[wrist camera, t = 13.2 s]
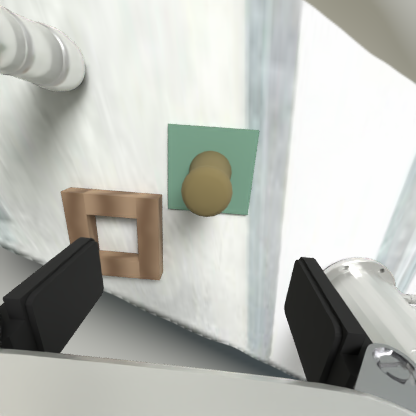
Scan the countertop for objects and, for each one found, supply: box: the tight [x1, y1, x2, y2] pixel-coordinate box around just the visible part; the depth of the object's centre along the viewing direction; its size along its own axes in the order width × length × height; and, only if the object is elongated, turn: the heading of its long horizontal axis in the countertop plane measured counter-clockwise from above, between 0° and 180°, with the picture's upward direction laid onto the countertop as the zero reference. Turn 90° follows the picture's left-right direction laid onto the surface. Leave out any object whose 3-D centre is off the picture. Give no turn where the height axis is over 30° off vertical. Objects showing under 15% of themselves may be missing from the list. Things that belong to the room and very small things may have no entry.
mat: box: [168, 124, 259, 215], centre depth 31 cm, size 12×12×1 cm
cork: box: [181, 151, 233, 217], centre depth 26 cm, size 6×6×11 cm
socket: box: [61, 187, 163, 280], centre depth 35 cm, size 14×14×2 cm
